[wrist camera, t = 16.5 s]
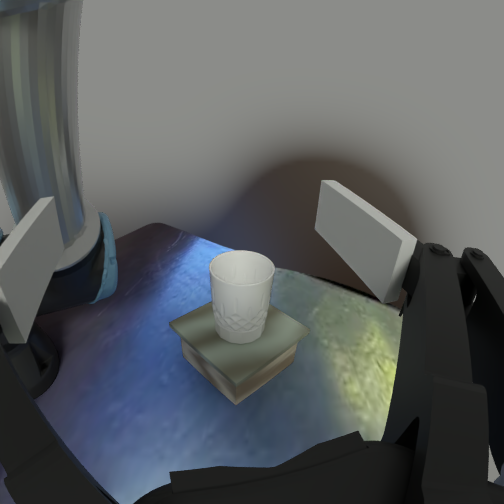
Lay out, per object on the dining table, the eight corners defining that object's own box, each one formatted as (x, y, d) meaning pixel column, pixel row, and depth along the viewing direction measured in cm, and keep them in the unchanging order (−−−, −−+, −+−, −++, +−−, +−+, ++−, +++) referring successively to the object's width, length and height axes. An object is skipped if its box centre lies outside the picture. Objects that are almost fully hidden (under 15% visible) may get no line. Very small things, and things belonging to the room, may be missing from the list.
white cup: (201, 319, 45) (198, 258, 40) (249, 303, 49) (253, 245, 44) (227, 355, 39) (227, 292, 34) (279, 335, 43) (287, 274, 38)
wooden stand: (174, 355, 47) (169, 322, 44) (240, 318, 56) (241, 285, 52) (235, 413, 39) (236, 383, 35) (302, 361, 47) (309, 329, 44)
